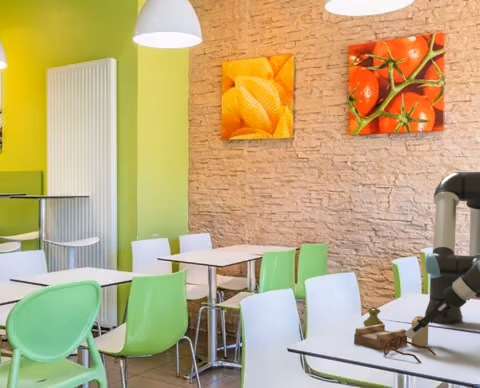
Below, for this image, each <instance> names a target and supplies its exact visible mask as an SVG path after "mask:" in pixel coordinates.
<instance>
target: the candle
mask: <svg viewBox="0 0 480 388" xmlns="http://www.w3.org/2000/svg"><path fill="white" fill-rule="evenodd" d="M424 317H425V316H422V315H418V316H414V318H413V319H412V320H411V327H412V326H413V325H415V324H416V323H417V322H418V321H417V320H418V319H419V320H421V319H423V318H424ZM410 340H411V343H414V344H416V345H419V346H425V347H429V346H428V345H429V324H427V325H426V327H424V328H423V329H422V330H421V331H419V332H418V333H417V334H416V335H415V336H413V337H412V338H411V339H410Z"/></svg>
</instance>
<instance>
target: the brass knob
mask: <svg viewBox="0 0 480 388" xmlns="http://www.w3.org/2000/svg"><path fill="white" fill-rule="evenodd" d="M366 311H367V313H368V314H369V317H368V318H366V319H365V320H363V323H362V324H363V325H364V326H363V327H367V326H373V325H378V324H384V322H383V321H382V320H381V319H380V318H379V317H378V315H379V314H380V313H381V309H379V308H377V307H376V306H371V307H370V308H369V307H368V309H366Z"/></svg>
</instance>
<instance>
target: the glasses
mask: <svg viewBox="0 0 480 388" xmlns="http://www.w3.org/2000/svg"><path fill="white" fill-rule="evenodd" d="M399 338H400V343H399V345H398V347H396V344H397V341H398V339H399ZM402 341H403V342H406V343H407V345H408V344H409V345H411V346H412V347H413V346H414V347H416V348H420V349H426V350H427V351H428V352H430V353H431V354H432V355H433V356H437V354H436V353H435V352H434V351H433V350H432V349H431V348H430V347H429V346H427V347H425V346H419V345H416V344H414V343H411V342H410V341H408V340H407V341H406V340H403V339H402V337H401V336H398V337H397V339H396V341H393V342H391V341H387V342H386V344H385V347H384V350H383V355H385V356H387V355H388V354H389V353H390V352H391V351H392V352H395V353H398V354H399V355H402V356H411V357H413V358H414V359H415V360H416V361H417V362H418V363H419V364H422V361H421V360H420V359H419V358H418V357H417V356H416V355H415V354H414V353H413V354H412V353H411V352H410V353H408V352H407V353H406V352H402V351H400V350H399V348H401V346H400V345H401V342H402ZM388 343H390V346H389V347H388V346H387V344H388ZM394 343H395V346H394V348H391V345H392V344H394ZM386 348H387V349H386ZM386 350H387V351H386Z"/></svg>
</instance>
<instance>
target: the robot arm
mask: <svg viewBox="0 0 480 388" xmlns="http://www.w3.org/2000/svg"><path fill="white" fill-rule="evenodd" d="M460 202H466V208H468V209H470V210H469V211H470V213H469V214H470V215H469V216H470V217H469V218H470V219H469V222H470V223H469V252H468V253H469V255H459V254H455V249H456V248H455V247H456V227H457V226H456V225H457V206H458V205H459V204H460ZM433 203H434V204H435V205H434V206H435V213H434V228H433V242H432V253H428V254H426V258H425V271H426V273H427V274H428V275H429V301H428V304H427V307H426V309H425V313H424V316H423V317H424V318H423V319H421V320H419V319H418V320H417V321H418V322H417V323H416V324H415V325H413V326H412V325H411V327H410V328H409V329H406V332H405V335H406V336H407V339H409V340H412V337H413V336H415V335H416V334H417V333H418V332H419V331H421V330H422V329H423V328H424V327H426V325H427V324H428V325H429V324H432V323H437V324H447V325H449V324H450V325H456V324H461V323H463V320H464V317H463V314H462V313H463V312H462V310H461V307H463V306H464V305H465V304H467V301H470V300H471V299H480V171H456V172H452V173H450V174H448V175H447V176H445V177H444V178H442V179H441V181H440V182H439V183H438V185H437V186H436V188H435V190H434V193H433Z"/></svg>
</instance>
